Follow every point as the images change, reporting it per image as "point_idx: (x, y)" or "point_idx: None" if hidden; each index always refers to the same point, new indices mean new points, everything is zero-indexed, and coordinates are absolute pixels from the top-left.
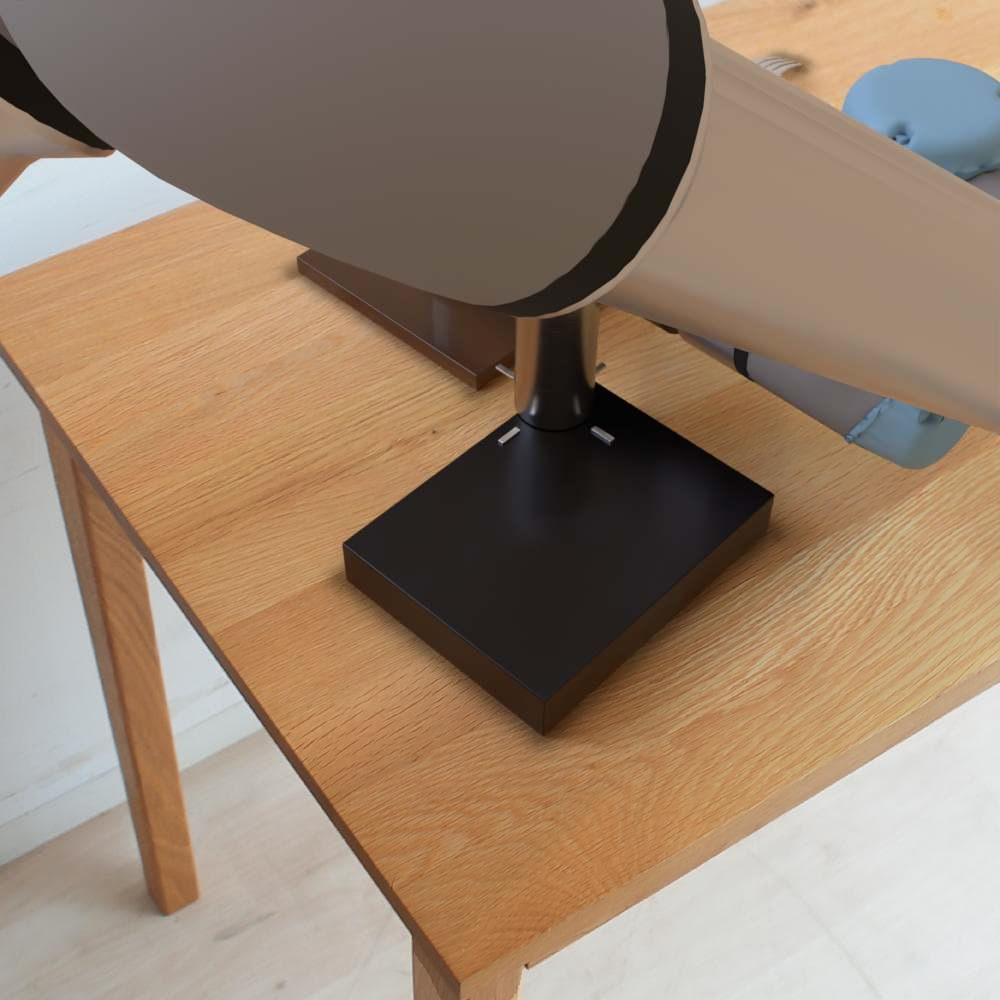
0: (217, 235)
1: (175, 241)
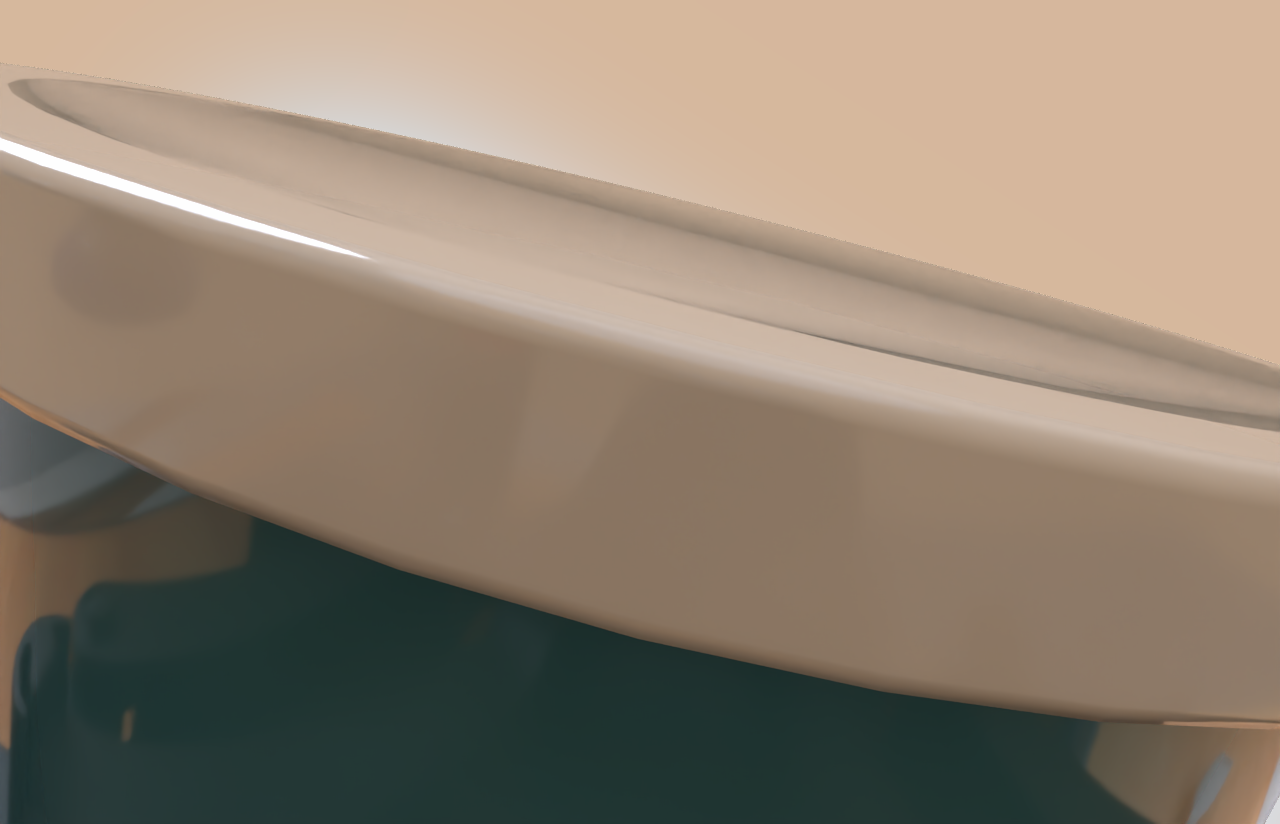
0: None
1: None
